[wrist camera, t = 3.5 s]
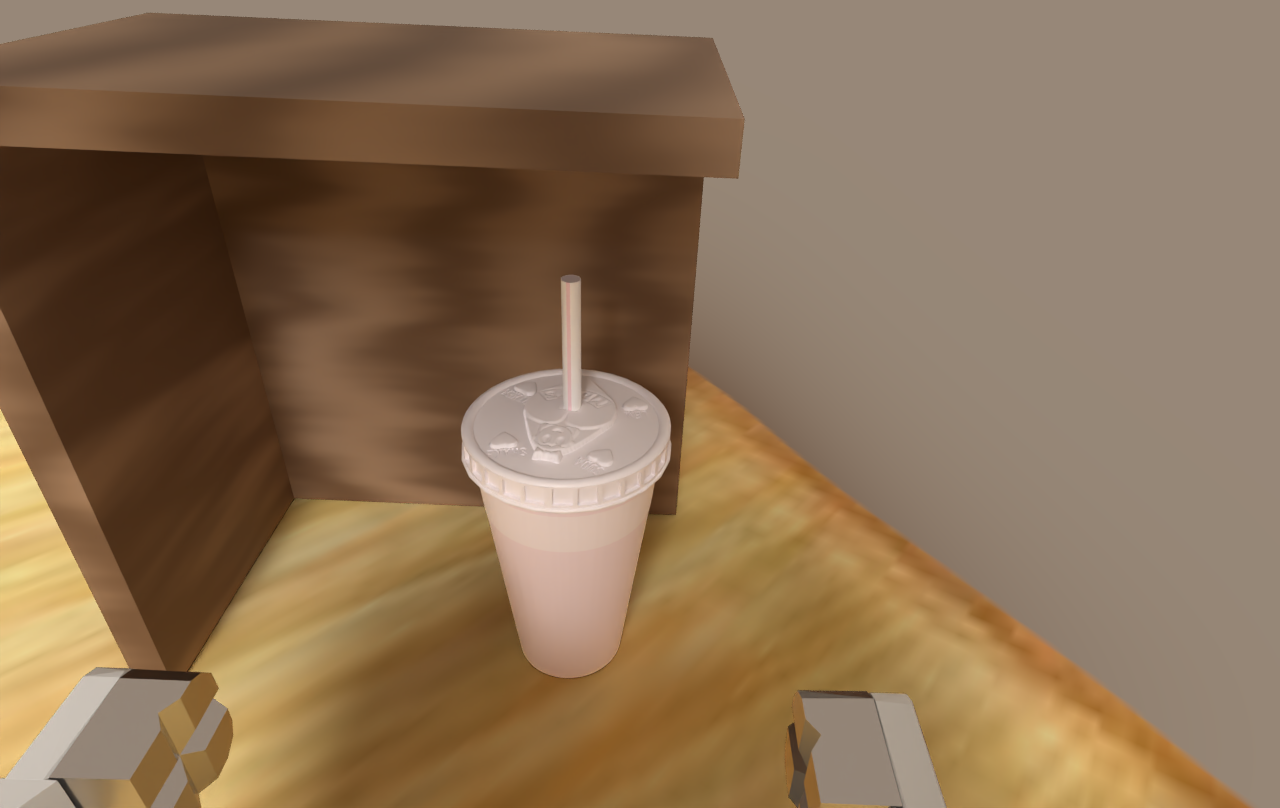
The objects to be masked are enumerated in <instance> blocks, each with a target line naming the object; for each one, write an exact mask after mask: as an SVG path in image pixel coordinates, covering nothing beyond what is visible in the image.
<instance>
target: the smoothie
mask: <svg viewBox="0 0 1280 808" xmlns="http://www.w3.org/2000/svg"><path fill="white" fill-rule="evenodd" d="M561 315H562V366H563V369H551V370H542V371H536V372H532V373H527V374H523V375H520V376H517V377H514V378H511V379H508V380H505V381H503V382H501V383H499V384H497V385H495V386H493V387H492V388H490V389H489V390H487V391H486V392H484V393H483V394H482V395H480V396H479V397H478V398H477V399H476V400H475V401H474V402H473V403H472V404H471V405H470V407H469V408H468V410H467V411H466V413H465V415H464V417H463V421H462V425H461V436H462V441H463V442H462V463H463V465H464V467H465V469H466V471H467V474H468V476H469V478H470V479H471V480H472V481H473V482H474V483H476V484H477V485H478V486H479V487H480V490H481V494H482V498H483V503H484V507H485V511H486V513H487V517H488V521H489V524H490V528H491V532H492V536H493V540H494V544H495V548H496V551H497V555H498V559H499V563H500V567H501V571H502V575H503V578H504V582H505V586H506V590H507V594H508V598H509V602H510V605H511V609H512V613H513V617H514V621H515V625H516V629H517V632H518V636H519V640H520V644H521V648H522V651H523V654H524V655H525V657H526V659H527V660H528V661H529V662H530V664H532V665H533V666H534V667H535V668H536V669H538V670H539V671H541V672H543V673H545V674H548V675H551V676H555V677H560V678H577V677H582V676H586V675H589V674H592V673H594V672H596V671H598V670H600V669H601V668H603V667H604V666H606V665H607V664H608V663H609V662H610V661H611V660H612V659H613V657H614V656H615V654H616V653H617V651H618V648H619V645H620V641H621V636H622V632H623V627H624V622H625V618H626V613H627V609H628V604H629V599H630V595H631V590H632V586H633V581H634V576H635V572H636V567H637V563H638V558H639V553H640V549H641V544H642V540H643V535H644V530H645V526H646V521H647V517H648V512H649V508H650V505H651V500H652V495H653V490H654V485H655V482H656V481H657V480H658V479H660V478H661V476H662V475H663V473H664V471H665V469H666V467H667V465H668V463H669V462H670V455H671V441H670V434H671V422H670V418H669V414H668V412H667V410H666V408H665V407H664V405H663V404H662V403H661V402H660V400H659V399H658V398H657V397H656V396H655V395H653V394H652V393H651V392H649V391H648V390H647V389H645V388H644V387H642V386H641V385H639V384H637V383H634V382H632V381H630V380H628V379H626V378H623V377H620V376H617V375H614V374H610V373H605V372H600V371H595V370H586V369H581V278H580V277H579V276H576V275H565V276H563V277H561Z"/></svg>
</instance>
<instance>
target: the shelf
mask: <svg viewBox="0 0 1280 808" xmlns="http://www.w3.org/2000/svg"><path fill="white" fill-rule="evenodd" d="M744 120H745V119H744V116H743V113H742V111H741V108H740V106H739V103H738V101H737V98H736V96H735V93H734V91H733V89H732V86H731V83H730V81H729V78H728V76H727V73H726V71H725V68H724V65H723V63H722V61H721V58H720V55H719V53H718V50H717V48H716V45H715V43H714V40H713V38H701V37H679V36H657V35H635V34H634V35H633V34H613V33H612V34H610V33H590V32H567V31H545V30H522V29H501V28H500V29H499V28H477V27H456V26H433V25H411V24H388V23H366V22H343V21H321V20H299V19H277V18H253V17H231V16H209V15H186V14H163V13H145V14H141V15H136V16H131V17H126V18H121V19H117V20H112V21H108V22H103V23H98V24H93V25H88V26H84V27H79V28H74V29H69V30H65V31H60V32H55V33H51V34H46V35H41V36H36V37H31V38H27V39H22V40H17V41H12V42H8V43H3V44H0V409H1V411H2V413H3V415H4V417H5V419H6V421H7V423H8V425H9V427H10V429H11V431H12V433H13V435H14V437H15V439H16V441H17V443H18V445H19V447H20V449H21V451H22V453H23V455H24V457H25V459H26V461H27V463H28V465H29V467H30V469H31V471H32V473H33V475H34V477H35V479H36V481H37V483H38V485H39V487H40V489H41V491H42V493H43V495H44V497H45V499H46V501H47V503H48V505H49V507H50V509H51V511H52V513H53V515H54V517H55V519H56V522H57V524H58V526H59V528H60V530H61V532H62V534H63V536H64V538H65V540H66V542H67V544H68V546H69V548H70V550H71V552H72V554H73V556H74V558H75V560H76V562H77V564H78V566H79V568H80V570H81V572H82V574H83V576H84V578H85V580H86V582H87V584H88V586H89V588H90V590H91V592H92V594H93V596H94V598H95V600H96V602H97V604H98V606H99V608H100V610H101V612H102V614H103V616H104V618H105V620H106V622H107V624H108V626H109V628H110V630H111V632H112V634H113V636H114V638H115V640H116V642H117V644H118V646H119V648H120V650H121V652H122V654H123V656H124V658H125V660H126V662H127V664H128V666H129V668H130V669H146V670H165V671H185V672H187V671H188V669H189V668H190V666H191V665H192V663H193V661H194V660H195V658H196V656H197V655H198V653H199V652H200V650H201V648H202V647H203V645H204V643H205V642H206V640H207V639H208V637H209V635H210V634H211V632H212V630H213V629H214V627H215V626H216V624H217V622H218V621H219V619H220V618H221V616H222V614H223V613H224V611H225V609H226V608H227V606H228V605H229V603H230V601H231V600H232V598H233V596H234V595H235V593H236V592H237V590H238V588H239V587H240V585H241V583H242V582H243V580H244V579H245V577H246V575H247V574H248V572H249V570H250V569H251V567H252V566H253V564H254V562H255V561H256V559H257V557H258V556H259V554H260V553H261V551H262V549H263V548H264V546H265V545H266V543H267V541H268V540H269V538H270V536H271V535H272V533H273V532H274V530H275V528H276V527H277V525H278V523H279V522H280V520H281V519H282V517H283V515H284V514H285V512H286V510H287V509H288V507H289V506H290V504H291V502H292V501H293V499H294V498H302V499H326V500H349V501H372V502H395V503H418V504H441V505H465V506H484V503H483V498H482V494H481V490H480V487H479V486H478V485H477V484H476V483H474V482H473V481H472V480H471V479H470V478H469V476H468V474H467V471H466V469H465V467H464V465H463V463H462V442H463V441H462V436H461V425H462V421H463V417H464V415H465V413H466V411H467V410H468V408H469V407H470V405H471V404H472V403H473V402H474V401H475V400H476V399H477V398H478V397H479V396H480V395H482V394H483V393H484V392H486V391H487V390H489V389H490V388H492V387H493V386H495V385H497V384H499V383H501V382H503V381H505V380H508V379H511V378H514V377H517V376H520V375H523V374H527V373H532V372H536V371H542V370H551V369H563V366H562V315H561V277H563V276H565V275H576V276H579V277H580V278H581V369H586V370H595V371H600V372H605V373H610V374H614V375H617V376H620V377H623V378H626V379H628V380H630V381H632V382H634V383H637V384H639V385H641V386H642V387H644V388H645V389H647V390H648V391H649V392H651V393H652V394H653V395H655V396H656V397H657V398H658V399H659V400H660V402H661V403H662V404H663V405H664V407H665V408H666V410H667V412H668V414H669V418H670V422H671V434H670V441H671V455H670V462H669V463H668V465H667V467H666V469H665V471H664V473H663V475H662V476H661V478H660V479H658V480H657V481H656V482H655V485H654V490H653V495H652V500H651V505H650V508H649V512H648V513H650V514H673V515H676V506H677V493H678V481H679V469H680V457H681V445H682V433H683V421H684V409H685V397H686V385H687V373H688V361H689V349H690V336H691V325H692V312H693V301H694V288H695V277H696V264H697V252H698V240H699V227H700V216H701V204H702V192H703V178H704V177H714V178H737V179H738V176H739V166H740V157H741V148H742V139H743V130H744Z"/></svg>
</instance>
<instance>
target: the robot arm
mask: <svg viewBox="0 0 1280 808" xmlns="http://www.w3.org/2000/svg"><path fill="white" fill-rule="evenodd" d="M218 689H219V687H218V685H217V684H216V682H215V680H214V678H213V676H212V674H211V673H204V672H185V671H165V670H146V669H130V668H102V667H96V668H95V669H94V670H92V671H91V672H89V673H88V674H86V675H85V676H83V677H82V678H81V680H80V681H79V682H78V684H77V685H76V686H75V688H74V689H73V690H72V691H71V693H70V694H69V695H68V697H67V698H66V699H65V701H64V702H63V703H62V704H61V706H60V707H59V708H58V710H57V711H56V712H55V714H54V715H53V716H52V718H51V719H50V720H49V721H48V723H47V724H46V725H45V727H44V728H43V729H42V731H41V732H40V733H39V734H38V736H37V737H36V738H35V740H34V741H33V742H32V744H31V745H30V746H29V748H28V749H27V750H26V751H25V753H24V754H23V755H22V757H21V758H20V759H19V761H18V762H17V763H16V765H15V766H14V767H13V768H12V770H11V771H10V772H9V774H8V775H7V776H6V778H0V808H201V803H200V798H199V793H200V792H201V791H202V790H203V789H205V788H206V787H207V786H208V785H210V784H211V783H212V782H214V781H215V780H216V779H217V778H218V777H219V775H220V773H221V771H222V769H223V767H224V765H225V763H226V761H227V759H228V756H229V751H230V747H231V743H232V738H233V725H232V718H231V716H230V713H229V711H228V708H226V707H225V706H223V705H222V704H220V703H219V702H218V701H216V700H215V699H213V698H214V696H215V694H216V692H217V690H218ZM792 711H793V717H794V723H792V724H791V725H790V726H788V729H787V736H786V742H785V769H786V781H787V788H788V796H789V798H790V799H791V800H792V802H793V803H794V804H795V805H796V806H797V808H947V807H946V804H945V801H944V798H943V795H942V792H941V789H940V785H939V782H938V779H937V776H936V773H935V770H934V767H933V764H932V761H931V758H930V755H929V752H928V748H927V745H926V742H925V739H924V736H923V733H922V730H921V727H920V724H919V721H918V718H917V715H916V711H915V708H914V705H913V702H912V700H911V699H910V698H909V697H908V695H907V694H904V693H868V692H867V691H809V690H797V692H796V693H795V695H794V699H793V704H792Z"/></svg>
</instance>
